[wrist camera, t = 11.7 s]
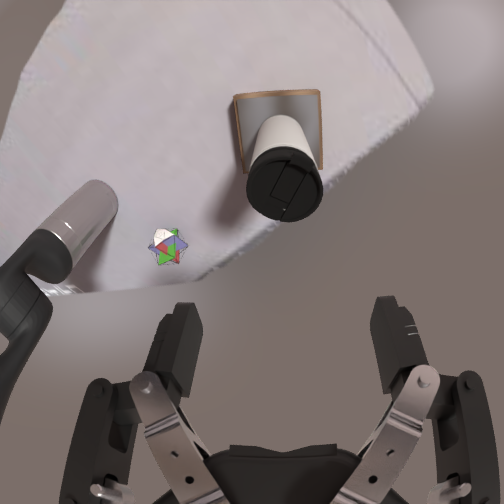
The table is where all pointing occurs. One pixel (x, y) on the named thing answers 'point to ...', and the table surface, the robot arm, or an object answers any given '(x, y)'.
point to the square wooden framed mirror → (274, 103)
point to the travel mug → (283, 172)
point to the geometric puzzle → (167, 245)
